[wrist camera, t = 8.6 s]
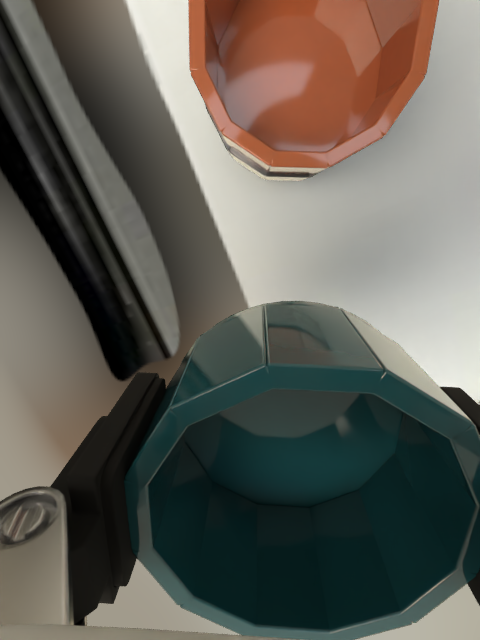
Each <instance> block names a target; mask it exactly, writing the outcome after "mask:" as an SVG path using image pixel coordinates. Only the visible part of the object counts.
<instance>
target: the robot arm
mask: <svg viewBox="0 0 480 640" xmlns="http://www.w3.org/2000/svg"><path fill="white" fill-rule="evenodd" d="M440 388H441V389H442V390H443V391H444V392H445V394H446V395H447V396H448V397H449V398H450V399H451V400H452V401H453V402H454V403H455V404H456V405H457V406H458V407H459V408H460V409H461V410H462V411H463V412H464V413H465V414H466V415H467V417H468V418H469V419H470V420H471V421H472V422H473V423H474V424H475V425H476V428H477V430H478V433H479V436H480V406H479V405H478V404H477V403H476V402H475V401H474V400H473V399H472V398H471V397H470V396H469V395H467V394H466V393H465V392H464V391H463V390H462V389H460V388H455V387H440ZM165 390H166V385H165V379H162V378H159V375H158V374H157V373H140V372H139V373H137V374H136V375H135V377H134V378H133V380H132V381H131V383H130V384H129V386H128V387H127V388H126V390H125V391H124V393H123V394H122V396H121V397H120V399H119V400H118V402H117V403H116V404H115V406H114V407H113V409H112V410H111V412H110V413H109V415H108V416H103V417H101V418H100V419H99V420H98V421H97V423H96V424H95V425H94V426H93V428H92V429H91V431H90V432H89V434H88V435H87V436H86V438H85V439H84V440H83V442H82V443H81V445H80V446H79V447H78V449H77V450H76V452H75V453H74V455H73V456H72V457H71V459H70V460H69V462H68V463H67V464H66V466H65V467H64V469H63V470H62V471H61V473H60V474H59V476H58V477H57V478H56V480H55V481H54V483H53V484H52V485H51V487H33V488H28V489H25V490H22V491H19V492H17V493H14V494H12V495H11V496H9V497H7V498H5V499H4V500H2V501H0V640H301V639H287V638H272V637H257V636H243V635H227V634H213V633H198V632H182V631H169V630H154V629H153V630H152V629H138V628H137V629H136V628H116V627H94V626H93V627H92V626H87V615H88V614H89V613H91V612H92V611H94V610H95V609H96V608H97V606H98V604H99V603H108V604H113V603H114V600H115V598H116V595H117V592H118V589H119V587H120V586H126V585H127V584H128V582H129V580H130V577H131V574H132V571H133V568H134V565H135V562H136V559H137V558H136V557H135V555H134V554H133V552H132V550H131V542H130V533H129V524H128V515H127V506H126V497H125V488H124V480H125V479H124V477H125V473H126V471H127V469H128V467H129V465H130V463H131V461H132V459H133V457H134V455H135V452H136V450H137V448H138V446H139V444H140V442H141V440H142V438H143V436H144V434H145V432H146V430H147V428H148V425H149V423H150V421H151V419H152V417H153V415H154V413H155V411H156V409H157V407H158V405H159V403H160V400H161V398H162V396H163V394H164V392H165ZM467 584H468V586H469V587H470V589H471V591H472V593H473V595H474V596H475V598H476V600H477V602H478V603H479V605H480V571H479V573H477V576H476V577H475V578H474V579H473V580H471V581H470V582H469V583H467Z"/></svg>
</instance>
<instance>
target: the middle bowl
mask: <svg viewBox="0 0 480 640" xmlns="http://www.w3.org/2000/svg"><path fill="white" fill-rule="evenodd" d="M188 4H189V57H190V71H191V76H192V78H193V80H194V82H195V84H196V86H197V88H198V90H199V92H200V94H201V96H202V98H203V100H204V102H205V104H206V106H207V108H208V110H209V112H210V114H211V116H212V118H213V120H214V122H215V124H216V126H217V128H218V130H219V132H220V133H221V135H222V137H223V138H224V140H225V142H226V143H227V145H228V146H229V147H230V148H231V149H232V150H234V151H235V152H237V153H238V154H240V155H241V156H243V157H244V158H245V159H246V160H248V161H249V162H251V163H253V164H254V165H256V166H258V167H259V168H261V169H262V170H264V171H265V172H268V173H281V174H313V173H317V172H320V171H322V170H325V169H327V168H330V167H332V166H334V165H335V164H337V163H339V162H341V161H342V160H344V159H346V158H348V157H350V156H351V155H353V154H355V153H357V152H358V151H360V150H362V149H364V148H366V147H367V146H369V145H371V144H373V143H375V142H376V141H378V140H380V139H382V138H383V136H385V135H386V134H387V132H388V131H389V129H390V128H391V126H392V125H393V123H394V122H395V121H396V119H397V118H398V116H399V115H400V113H401V112H402V110H403V109H404V107H405V106H406V104H407V103H408V101H409V100H410V99H411V97H412V96H413V94H414V93H415V91H416V90H417V88H418V87H419V85H420V84H421V82H422V81H423V79H424V77H425V76H424V75H426V73H427V67H428V61H429V56H430V50H431V44H432V39H433V33H434V28H435V22H436V16H437V11H438V5H439V0H188Z"/></svg>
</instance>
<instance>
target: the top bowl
mask: <svg viewBox="0 0 480 640" xmlns="http://www.w3.org/2000/svg"><path fill="white" fill-rule="evenodd" d="M124 479H125V480H124V488H125V497H126V506H127V515H128V524H129V533H130V542H131V550H132V552H133V554H134V555H135V557H136V558H137V559H138V560H139V561H140V562H141V563H142V565H143V566H144V567H145V568H146V569H147V570H148V572H149V573H150V574H151V575H152V576H153V577H154V579H155V580H156V581H157V582H158V583H159V584H160V586H161V587H162V588H163V589H164V590H165V591H166V593H167V594H168V595H169V596H170V597H171V598H172V599H173V601H174V602H175V603H176V604H177V605H180V607H181V608H183V609H185V610H187V611H190V612H192V613H194V614H196V615H198V616H201V617H203V618H205V619H207V620H209V621H212V622H214V623H216V624H218V625H220V626H223V627H225V628H227V629H229V630H231V631H234V632H236V633H238V634H240V635H243V636H257V637H272V638H287V639H301V640H355V639H358V638H363V637H366V636H370V635H374V634H378V633H382V632H385V631H389V630H393V629H396V628H400V627H404V626H408V625H411V624H412V622H413V623H416V622H418V621H419V620H420V619H422V618H423V617H424V616H425V615H427V614H428V613H430V612H431V611H432V610H433V609H435V608H436V607H437V606H439V605H440V604H441V603H443V602H444V601H445V600H446V599H448V598H449V597H450V596H452V595H453V594H454V593H455V592H457V591H458V590H459V589H461V588H462V587H463V586H465V585H466V584H467V583H469V582H470V581H471V580H473V579H474V578H475V577H476V576H477V573H479V571H480V436H479V433H478V430H477V428H476V425H475V424H474V423H473V422H472V421H471V420H470V419H469V418H468V417H467V415H466V414H465V413H464V412H463V411H462V410H461V409H460V408H459V407H458V406H457V405H456V404H455V403H454V402H453V401H452V400H451V399H450V398H449V397H448V396H447V395H446V394H445V392H444V391H443V390H442V389H441V388H440V387H439V386H438V385H437V384H436V383H435V382H434V381H433V380H432V379H431V378H430V377H429V376H428V375H427V374H426V373H425V372H424V371H423V369H422V368H421V367H420V366H419V365H418V364H417V363H416V362H415V361H414V360H413V359H412V358H411V357H410V356H409V355H408V354H407V353H406V352H405V351H404V350H403V349H402V348H401V346H400V345H399V344H398V343H396V342H394V341H393V340H391V339H390V338H388V337H386V336H385V335H383V334H382V333H381V332H380V331H379V330H377V329H376V328H375V327H373V326H372V325H371V324H369V323H368V322H366V321H365V320H363V319H361V318H359V317H357V316H356V315H354V314H352V313H350V312H347V311H345V310H344V309H342V308H340V309H339V307H333V306H329V305H325V304H321V303H315V302H305V301H281V302H274V303H267V304H262V305H259V306H255V307H251V308H248V309H246V310H243V311H241V312H238V313H236V314H233V315H231V316H230V317H228V318H226V319H224V320H223V321H221V322H219V323H217V324H216V325H215V326H214V327H212V328H211V329H210V330H208V331H207V332H206V333H204V334H202V335H200V337H199V338H198V339H197V340H196V342H195V343H194V345H193V346H192V348H191V349H190V350H189V352H188V353H187V354H186V356H185V357H184V359H183V361H182V363H181V365H180V367H179V369H178V370H177V372H176V373H175V375H174V377H173V378H172V380H171V381H170V383H169V385H168V386H167V388H166V390H165V392H164V394H163V396H162V398H161V400H160V403H159V405H158V407H157V409H156V411H155V413H154V415H153V417H152V419H151V421H150V423H149V425H148V428H147V430H146V432H145V434H144V436H143V438H142V440H141V442H140V444H139V446H138V448H137V450H136V452H135V455H134V457H133V459H132V461H131V463H130V465H129V467H128V469H127V471H126V473H125V477H124Z"/></svg>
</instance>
